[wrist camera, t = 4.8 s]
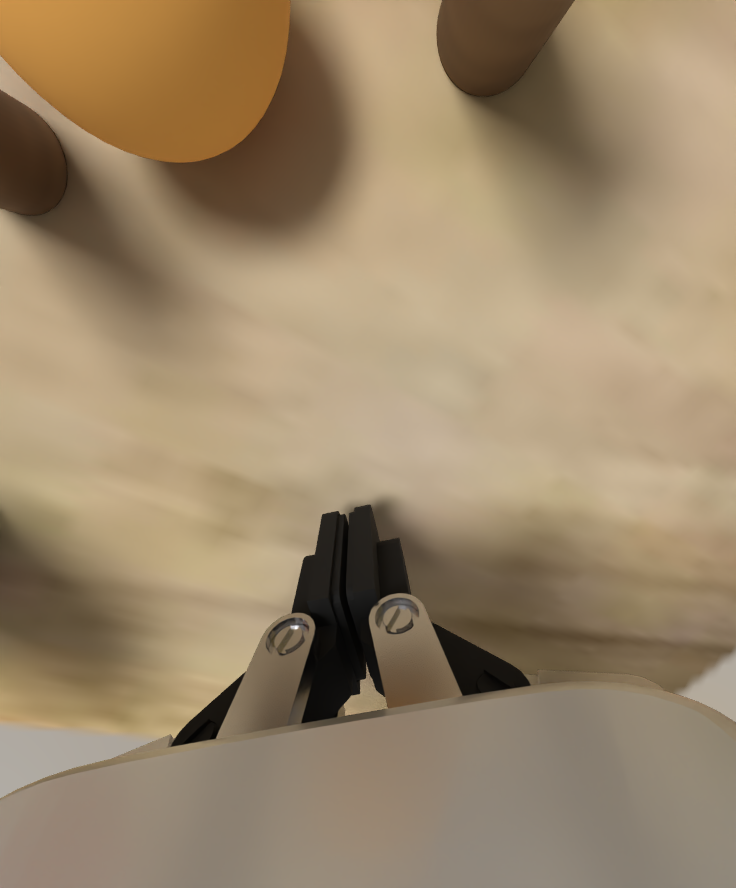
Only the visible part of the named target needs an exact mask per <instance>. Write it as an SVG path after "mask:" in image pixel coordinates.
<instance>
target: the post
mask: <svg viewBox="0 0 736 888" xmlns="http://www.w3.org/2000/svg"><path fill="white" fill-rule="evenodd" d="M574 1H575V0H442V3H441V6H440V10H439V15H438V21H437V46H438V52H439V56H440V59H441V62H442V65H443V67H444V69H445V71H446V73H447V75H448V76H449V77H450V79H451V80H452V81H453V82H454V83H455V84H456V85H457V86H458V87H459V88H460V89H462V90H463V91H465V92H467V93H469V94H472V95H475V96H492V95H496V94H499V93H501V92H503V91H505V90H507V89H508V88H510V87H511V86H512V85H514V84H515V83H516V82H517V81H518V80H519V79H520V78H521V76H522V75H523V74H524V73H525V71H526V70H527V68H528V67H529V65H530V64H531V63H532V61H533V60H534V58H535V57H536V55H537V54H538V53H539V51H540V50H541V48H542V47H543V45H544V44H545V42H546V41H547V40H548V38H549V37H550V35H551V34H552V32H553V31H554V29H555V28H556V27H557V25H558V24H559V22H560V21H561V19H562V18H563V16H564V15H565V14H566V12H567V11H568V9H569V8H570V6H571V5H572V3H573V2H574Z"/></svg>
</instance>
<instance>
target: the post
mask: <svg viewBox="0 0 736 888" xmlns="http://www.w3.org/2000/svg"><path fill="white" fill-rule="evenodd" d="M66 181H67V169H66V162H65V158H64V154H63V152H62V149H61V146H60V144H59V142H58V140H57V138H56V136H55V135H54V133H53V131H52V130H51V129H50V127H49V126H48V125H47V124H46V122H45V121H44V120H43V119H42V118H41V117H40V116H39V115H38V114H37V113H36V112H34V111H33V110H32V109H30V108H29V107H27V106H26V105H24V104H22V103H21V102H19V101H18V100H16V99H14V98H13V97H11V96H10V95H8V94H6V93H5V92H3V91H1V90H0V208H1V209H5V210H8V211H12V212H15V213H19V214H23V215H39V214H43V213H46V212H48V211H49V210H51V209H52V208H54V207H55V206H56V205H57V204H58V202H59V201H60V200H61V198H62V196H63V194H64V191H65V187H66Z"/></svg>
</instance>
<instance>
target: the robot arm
mask: <svg viewBox="0 0 736 888" xmlns="http://www.w3.org/2000/svg"><path fill="white" fill-rule="evenodd" d="M366 663H367V666H368V670H369V673H370V676H371V678H372V679H373V682H374V685H375V688H376V690H377V691H378V692H379V693H380V694H382V695H383V696H384V697H385V698H386V702H387V707H388V709H383V710H377V711H371V712H365V713H360V714H354V715H348V716H345V708H344V703H345V702H346V701H347V700H348V699H349V698H350V696H351V695H357V694H360V680H362V679H366ZM537 673H538V675H531V674H523V673H522V672H521V671H520V670H518V669H517V668H515V667H514V666H513V665H511V664H509V663H507V662H505V661H504V660H502V659H500V658H498V657H496V656H494V655H492V654H490V653H489V652H487V651H485V650H483V649H481V648H479V647H477V646H475V645H474V644H472V643H470V642H468V641H466V640H464V639H462V638H461V637H459V636H457V635H455V634H453V633H451V632H449V631H447V630H446V629H444V628H442V627H440V626H438V625H436V624H434V623H432V622H431V621H430V619H429V616H428V614H427V612H426V610H425V607H424V605H423V604H422V602H421V601H420V600H419V599H417V598H416V597H415V596H412V595H411V591H410V586H409V581H408V576H407V571H406V566H405V561H404V557H403V552H402V548H401V543H400V539H399V538H395V539H390V540H385V541H380V540H379V536H378V532H377V528H376V524H375V520H374V516H373V512H372V508H371V505H365V506H361V507H356V508H355V509H354V512H352V513H349V525H348V521H347V517H346V515H345V514H342V515H340V513H339V511H336V512H331V513H327V514H323V515H322V519H321V524H320V530H319V535H318V541H317V546H316V552H315V555H310V556H306V557H304V560H303V564H302V568H301V573H300V577H299V582H298V586H297V590H296V595H295V599H294V604H293V608H292V613H291V614H288V615H286V616H283V617H281V618H279V619H278V620H276V621H275V622H274V623H272V624H271V625H270V626H269V627H268V628H267V630H266V631H265V633H264V634H263V636H262V638H261V640H260V642H259V644H258V647H257V649H256V651H255V653H254V655H253V658H252V660H251V662H250V664H249V666H248V669H247V671H246V672H245V673H243V674H242V675H241V676H240V677H239V678H238V679H237V680H236V681H235V682H233V683H232V684H231V685H230V686H229V687H228V688H227V689H226V690H224V691H223V692H222V693H221V694H220V695H219V696H218V697H217V698H215V699H214V700H213V701H212V702H211V703H210V704H209V705H208V706H206V707H205V708H204V709H203V710H202V711H201V712H200V713H199V714H197V715H196V716H195V717H194V718H193V719H192V720H191V721H190V722H189V723H188V724H187V725H186V726H185V727H184V728H183V729H182V730H181V731H180V732H179V734H178V735H177V737H176V738H174V739H173V737H172V736H171V734H170V735H168V736H165V737H163V738H160V739H158V740H156V741H153V742H151V743H148V744H146V745H143V746H141V747H139V748H136V749H134V750H131V751H129V752H127V753H124V754H122V755H119V756H117V757H114V758H112V759H108V760H104V761H100V762H96V763H92V764H88V765H84V766H80V767H76V768H72V769H69V770H66V771H63V772H60V773H57V774H54V775H51V776H48V777H45V778H43V779H40V780H38V781H36V782H33V783H31V784H29V785H26V786H24V787H22V788H19V789H17V790H15V791H13V792H11V793H9V794H8V795H6V796H4V797H2V798H0V888H736V722H734V721H732V720H731V719H729V718H728V717H726V716H725V715H723V714H721V713H720V712H718V711H716V710H714V709H712V708H710V707H708V706H706V705H704V704H702V703H699V702H697V701H695V700H692V699H689V698H686V697H683V696H680V695H677V694H674V693H670V692H667V691H665V690H664V689H663V688H662V687H660V686H659V685H658V684H656V683H654V682H652V681H650V680H648V679H646V678H644V677H640V676H635V675H631V674H616V673H596V672H576V671H556V670H537Z"/></svg>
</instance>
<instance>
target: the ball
mask: <svg viewBox="0 0 736 888" xmlns="http://www.w3.org/2000/svg"><path fill="white" fill-rule="evenodd" d="M289 26H290V0H0V55H1V57H2V58H3V59H4V60H5V61H6V62H7V63H8V64H9V65H10V66H11V68H12V69H13V70H14V71H15V72H16V73H17V74H18V75H19V76H20V77H21V78H22V79H23V80H24V81H25V82H26V83H27V84H28V85H29V86H30V87H31V88H32V89H33V90H35V91H36V92H37V93H38V94H39V95H40V96H41V97H42V98H43V99H45V100H46V101H47V102H48V103H49V104H51V105H52V106H53V107H54V108H55V109H57V110H58V111H59V112H60V113H61V114H63V115H64V116H65V117H67V118H68V119H69V120H71V121H72V122H74V123H75V124H77V125H78V126H79V127H81V128H82V129H84V130H85V131H87V132H88V133H90V134H92V135H94V136H95V137H97V138H99V139H100V140H102V141H104V142H106V143H108V144H110V145H112V146H114V147H117V148H119V149H121V150H123V151H126V152H129V153H132V154H135V155H138V156H141V157H144V158H149V159H154V160H159V161H163V162H176V163H186V162H196V161H201V160H205V159H208V158H212V157H215V156H217V155H219V154H221V153H223V152H226V151H228V150H230V149H231V148H233V147H234V146H235V145H237V144H238V143H240V142H241V141H242V140H243V139H244V138H245V137H246V136H247V135H248V134H249V133H250V132H251V131H252V130H253V129H254V128H255V127H256V125H257V124H258V122H259V121H260V120H261V118H262V117H263V115H264V114H265V112H266V110H267V108H268V106H269V104H270V102H271V100H272V98H273V96H274V94H275V91H276V88H277V86H278V83H279V80H280V77H281V74H282V69H283V65H284V61H285V56H286V51H287V43H288V35H289Z"/></svg>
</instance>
